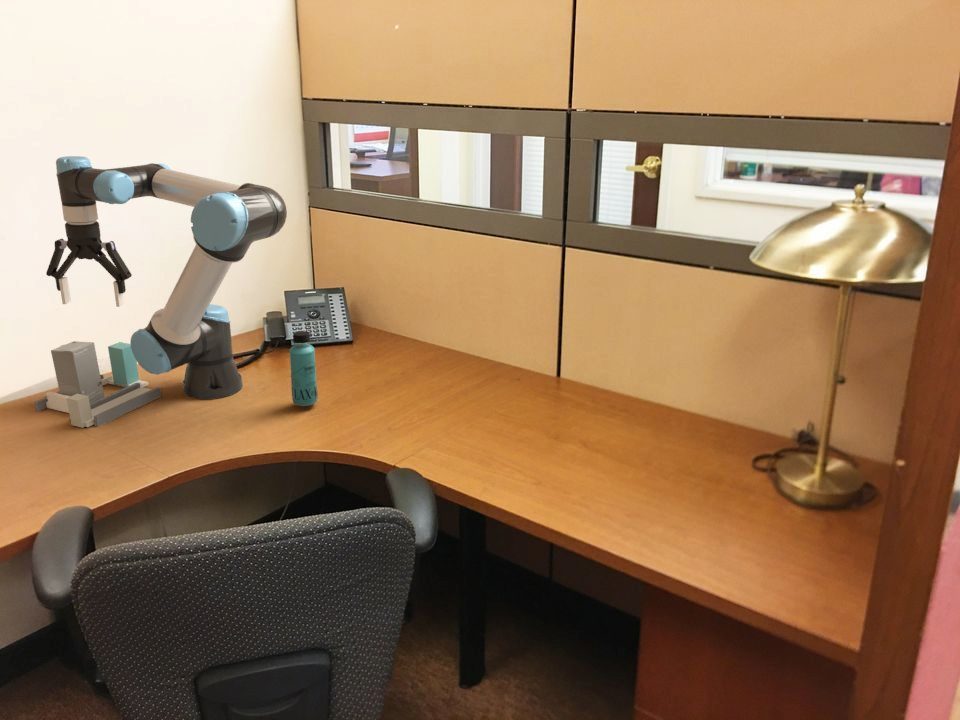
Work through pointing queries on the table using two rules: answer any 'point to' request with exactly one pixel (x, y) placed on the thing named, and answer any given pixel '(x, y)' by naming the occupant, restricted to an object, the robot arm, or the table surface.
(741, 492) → the table surface
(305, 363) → the beverage bottle
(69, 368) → the skincare box
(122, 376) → the white and teal frame
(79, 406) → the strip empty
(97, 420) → the lane bed
